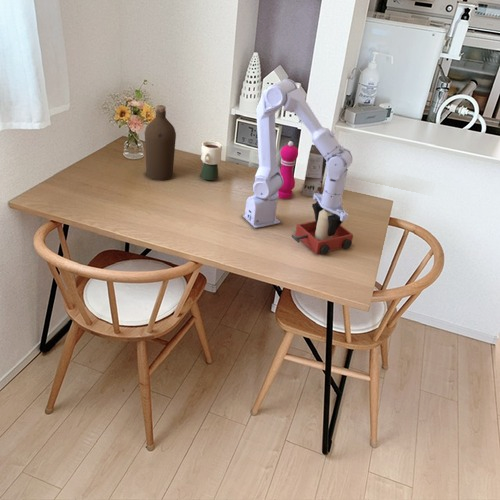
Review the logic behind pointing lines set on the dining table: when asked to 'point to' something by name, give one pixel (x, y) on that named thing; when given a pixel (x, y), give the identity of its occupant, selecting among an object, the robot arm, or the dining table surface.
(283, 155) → the pepper mill
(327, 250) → the cart wheels
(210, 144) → the character mug
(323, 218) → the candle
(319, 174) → the coffee box
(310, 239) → the cart
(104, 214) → the dining table surface
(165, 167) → the olive oil
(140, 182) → the dining table surface
